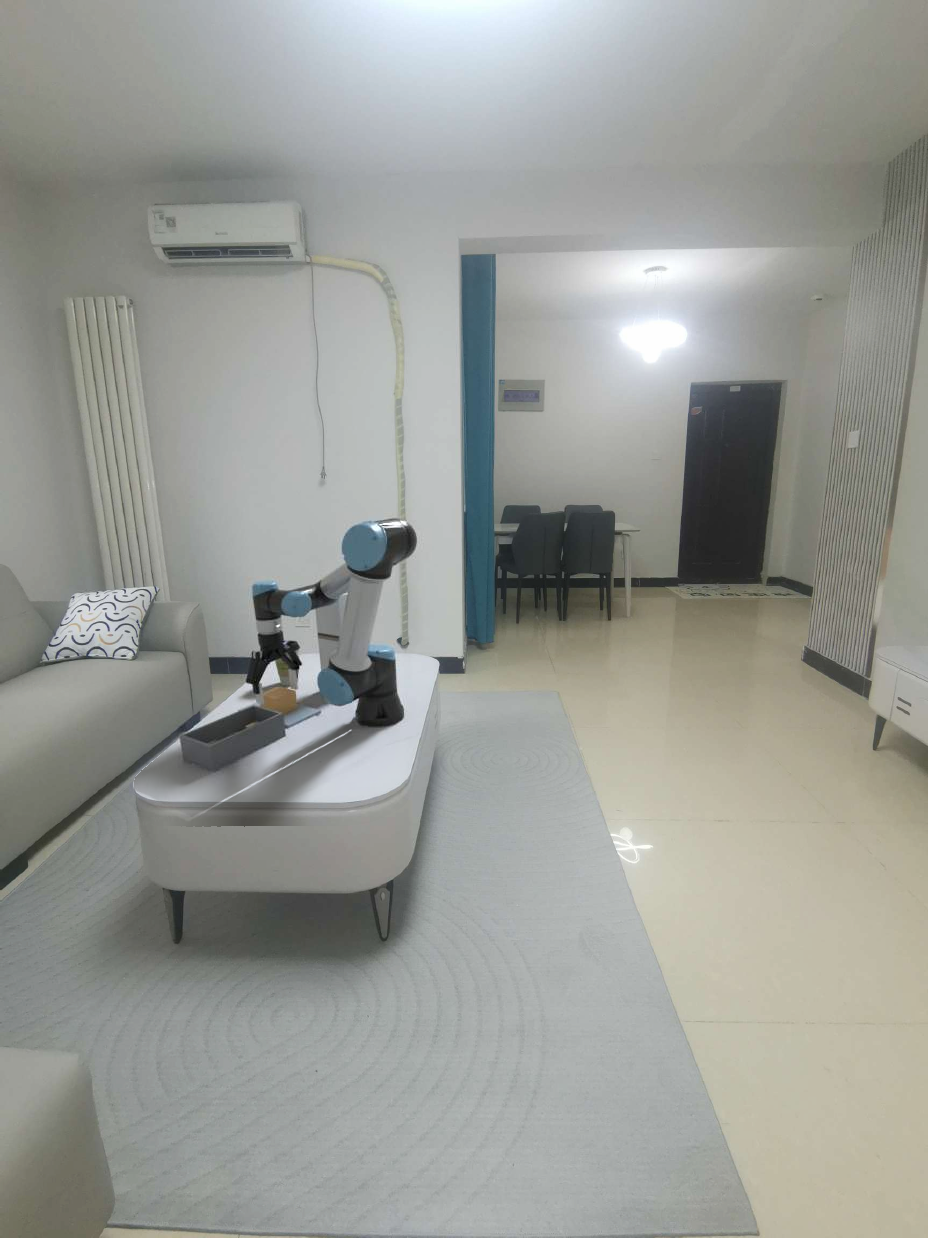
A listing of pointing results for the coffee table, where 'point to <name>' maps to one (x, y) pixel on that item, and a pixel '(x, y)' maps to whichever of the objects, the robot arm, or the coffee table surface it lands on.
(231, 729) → the tub
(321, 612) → the tall white vase
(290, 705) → the lid
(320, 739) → the coffee table surface
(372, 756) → the coffee table surface
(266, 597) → the robot arm
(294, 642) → the coffee cup
